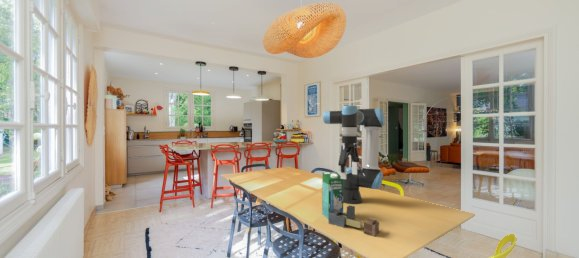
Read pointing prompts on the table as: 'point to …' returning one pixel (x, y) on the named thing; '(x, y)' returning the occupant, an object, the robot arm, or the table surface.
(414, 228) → the table surface
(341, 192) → the milk carton
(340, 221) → the sleeve
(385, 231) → the table surface
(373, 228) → the socket
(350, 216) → the slip tube
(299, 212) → the table surface
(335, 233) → the table surface
